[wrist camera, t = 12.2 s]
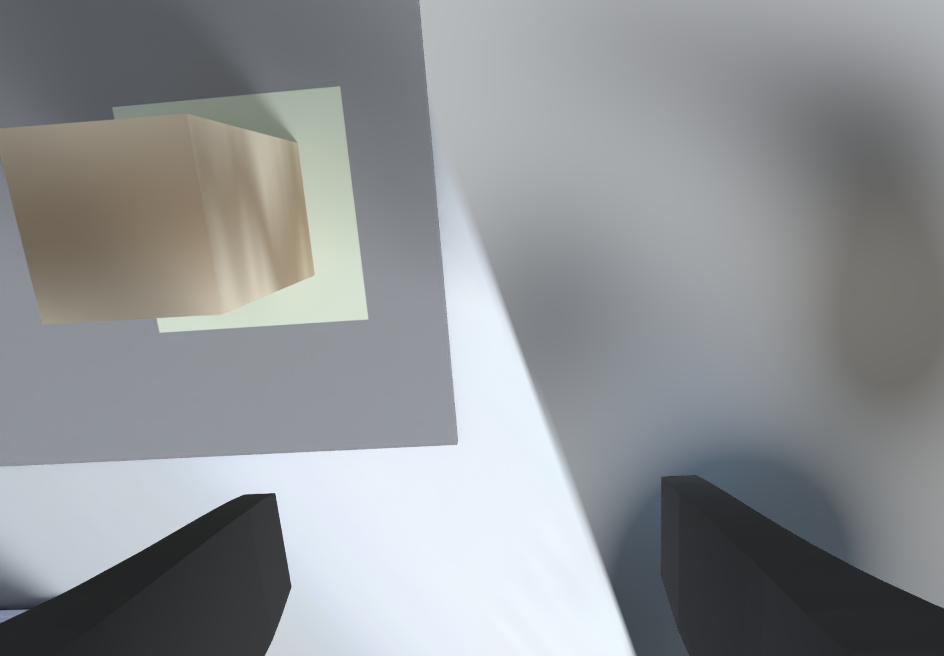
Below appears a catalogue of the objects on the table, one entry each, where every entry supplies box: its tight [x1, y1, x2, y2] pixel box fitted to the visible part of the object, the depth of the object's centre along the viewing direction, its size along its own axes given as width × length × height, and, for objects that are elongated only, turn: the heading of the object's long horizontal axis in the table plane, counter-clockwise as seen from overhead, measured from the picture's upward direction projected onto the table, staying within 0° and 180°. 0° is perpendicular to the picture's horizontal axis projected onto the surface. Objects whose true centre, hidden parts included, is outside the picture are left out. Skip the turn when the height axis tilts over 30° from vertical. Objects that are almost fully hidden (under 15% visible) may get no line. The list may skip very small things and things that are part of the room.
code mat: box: [0, 0, 458, 467], centre depth 18 cm, size 16×24×1 cm, turn 94°
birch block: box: [0, 114, 315, 324], centre depth 14 cm, size 4×4×6 cm
